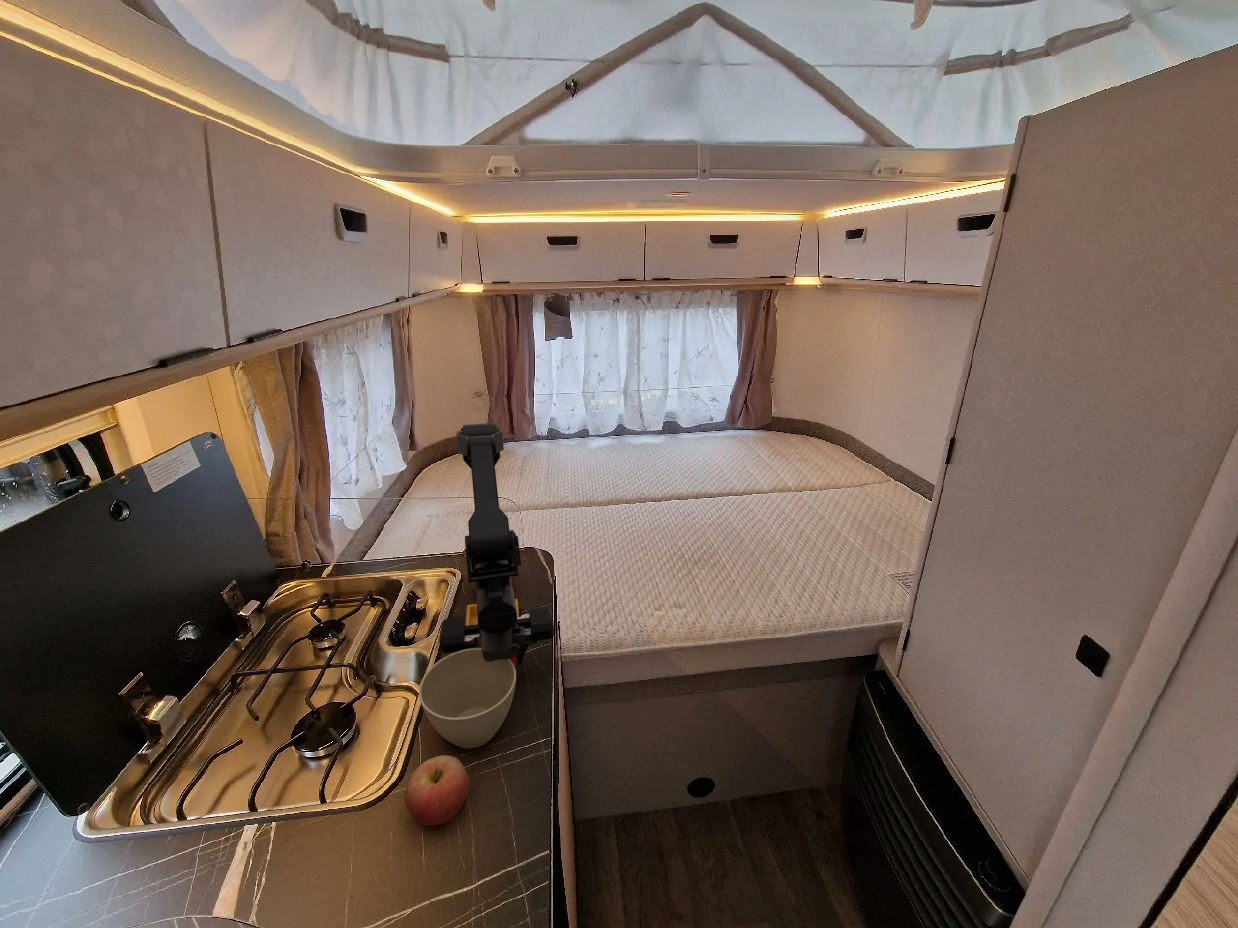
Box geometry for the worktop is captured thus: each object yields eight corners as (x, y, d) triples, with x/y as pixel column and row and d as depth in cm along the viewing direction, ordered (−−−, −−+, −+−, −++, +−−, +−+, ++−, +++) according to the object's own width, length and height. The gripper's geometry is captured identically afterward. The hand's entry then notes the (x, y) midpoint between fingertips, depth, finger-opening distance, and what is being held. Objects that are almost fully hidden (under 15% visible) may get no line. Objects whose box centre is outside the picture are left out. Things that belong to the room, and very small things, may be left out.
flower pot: (528, 750, 79) (525, 700, 75) (430, 783, 73) (421, 732, 70) (509, 683, 91) (506, 637, 87) (424, 708, 86) (416, 660, 82)
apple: (483, 796, 72) (478, 756, 69) (440, 850, 65) (432, 808, 62) (442, 770, 75) (435, 730, 72) (396, 818, 69) (387, 777, 66)
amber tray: (468, 616, 107) (467, 605, 106) (518, 610, 109) (517, 598, 108) (466, 651, 98) (464, 638, 97) (520, 643, 100) (519, 631, 99)
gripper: (430, 634, 77) (442, 711, 83) (556, 617, 80) (559, 693, 86) (437, 589, 87) (448, 661, 93) (549, 576, 90) (552, 646, 96)
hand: (501, 666), depth 92 cm, fingers closed on onion, 6 cm apart
